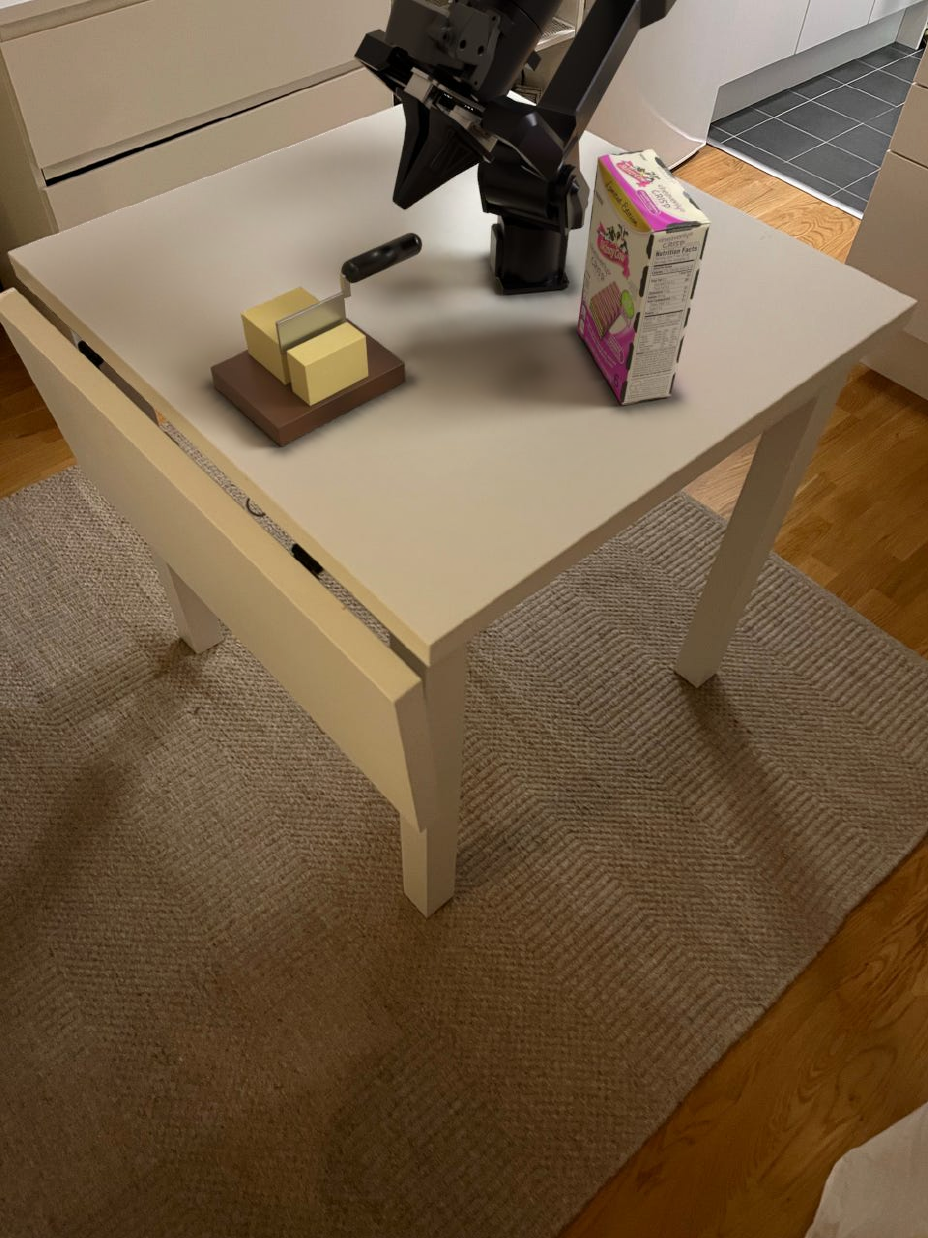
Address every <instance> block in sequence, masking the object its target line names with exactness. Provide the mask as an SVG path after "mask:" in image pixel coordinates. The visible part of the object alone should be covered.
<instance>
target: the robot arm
mask: <svg viewBox="0 0 928 1238" xmlns="http://www.w3.org/2000/svg"><path fill="white" fill-rule="evenodd" d="M677 1H678V0H594V1H593V3H592V4H591V6H590V8H589V10H588V12H587V14H586V16H585V18H584V19H583V21H582V23H581V24H580V26H579V28H578V30H577V31H576V33H575V34H574V36H573V38H572V41H571V42H570V44H569V46H568V48H567V49H566V51H565V53H564V55H563V56H562V58H561V60H560V62H559V63H558V65H557V66H556V69H555V70H554V72H553V74H552V76H551V77H550V80H549V81H548V83H547V85H546V86H545V88H544V90H543V92H542V93H541V96H540V97H539V98H538V101H537V103H536V104H535V105H534V104H530V103H526V102H523V101H519V100H515V99H514V98H511V97H510V96H508V95H509V93H510V91H511V90H512V88H513V86H514V85H515V83H516V81H517V80H518V78H519V76H520V75H521V73H522V71H523V69H524V68H526V69H528V70H530V71H532V72H535V71H536V70H537V68H538V67H539V65H540V63H541V62H542V61H543V59H542V57H541V56H540V55H539V54H538V52H536V50H535V49H536V48H537V46H538V44H539V42H540V41H541V39H542V37H543V36H544V34H545V32H546V30H547V28H548V27H549V25H550V24H551V22H552V20H553V19H554V17H555V15H556V13H557V12H558V10H559V8H560V6H561V5H562V3H563V2H564V0H452V1H451V3H450V4H449V6H448V7H447V9H446V8H443V7H441V6H438V5H436V4H434V3H431V2H428V1H425V0H393V1H392V5H391V9H390V13H389V17H388V20H387V24H386V27H385V30H382V29H381V28H378V29H375V30H372V31H369V32H366V33H365V35H364V37H363V38H362V40H361V42H360V44H359V45H358V48H357V50H356V51H355V53H354V55H353V58H354V59H355V60H356V61H357V62H358V63H360V65H362V67H364V68H365V69H366V70H367V71H368V72H369V73H371V75H372V76H373V77H375V78H376V79H377V80H378V81H379V82H380V83H381V84H382V85H383V86H384V87H385V88H386V89H388V90H389V91H390V92H391V93H392V94H394V95H395V97H396V98H397V99H398V100H399V101H400V102H401V105H402V110H403V115H404V120H405V128H404V137H403V144H402V149H401V155H400V159H399V164H398V168H397V174H396V177H395V184H394V187H393V193H392V197H391V200H392V203H393V204H395V205H396V206H397V207H399V208H401V209H402V210H404V211H406V210H408V209H410V208H411V207H412V206H414V205H416V204H417V203H418V202H420V201H421V200H423V199H424V198H426V197H428V195H430V194H431V193H433V192H435V191H436V190H437V189H438V188H440V187H442V186H443V185H444V184H446V183H447V182H449V181H451V180H453V179H455V177H457V176H459V175H461V174H463V173H464V172H466V171H468V170H470V169H472V168H474V167H476V166H477V171H476V180H477V186H478V192H479V198H480V203H481V209H482V213H485V214H490V215H491V214H492V215H495V216H497V218H496V222H495V223H492V225H491V226H490V243H489V246H490V247H489V264H490V268H491V271H492V274H493V275H494V277H495V278H496V279H497V280H498V283H499V285H500V287H501V291H502V293H504V294H508V295H509V294H519V293H529V292H540V291H541V292H542V291H550V290H562V289H567V288H569V286H570V280H569V278H568V275H567V273H566V263H567V255H568V246H569V237H570V232H571V231H575V230H579V229H582V228H583V227H584V226H585V220H586V219H585V218H586V211H587V208H588V206H589V198H590V194H591V188H590V186H589V183H588V182H587V180H586V179H585V177H584V175H583V174H582V171H581V162H580V158H581V157H580V140H581V138H582V136H583V135H584V133H585V131H586V129H587V127H588V125H589V123H590V122H591V120H592V118H593V116H594V115H595V112H596V111H597V109H598V107H599V105H600V103H601V101H602V99H603V97H604V96H605V93H606V92H607V90H608V89H609V87H610V84H611V83H612V81H613V79H614V77H615V75H616V73H617V72H618V70H619V68H620V66H621V65H622V62H623V61H624V59H625V56H626V55H627V53H628V51H629V49H630V47H631V46H632V44H633V42H634V41H635V39H636V37H637V34H638V33H639V32H640V30H643V29H645V28H647V27H649V26H651V25H654V24H655V23H657V22H659V21H662V20H663V19H665V18H666V17H667V16H668V14H669V13H670V11H671V10H672V8H673V6H674V5H675V4H676V2H677Z"/></svg>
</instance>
